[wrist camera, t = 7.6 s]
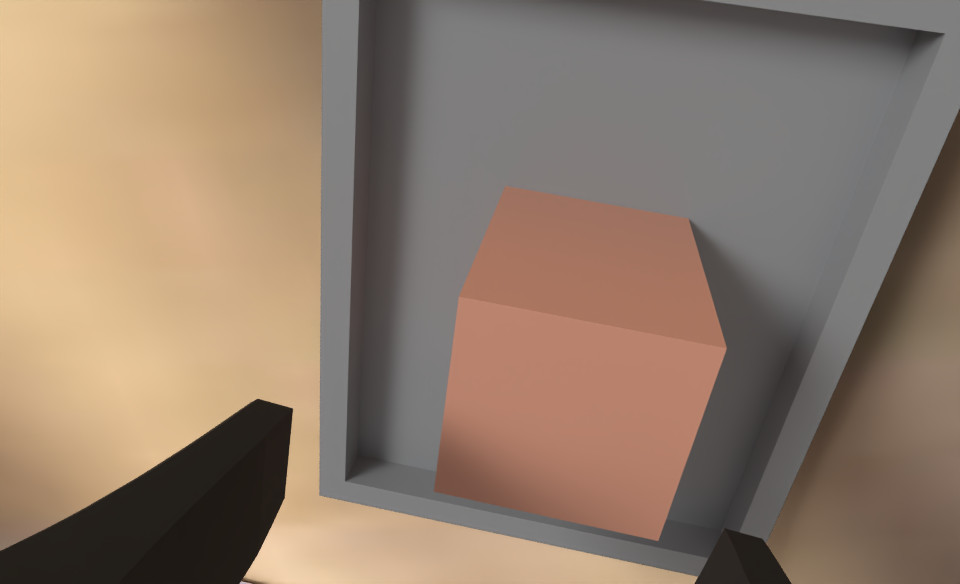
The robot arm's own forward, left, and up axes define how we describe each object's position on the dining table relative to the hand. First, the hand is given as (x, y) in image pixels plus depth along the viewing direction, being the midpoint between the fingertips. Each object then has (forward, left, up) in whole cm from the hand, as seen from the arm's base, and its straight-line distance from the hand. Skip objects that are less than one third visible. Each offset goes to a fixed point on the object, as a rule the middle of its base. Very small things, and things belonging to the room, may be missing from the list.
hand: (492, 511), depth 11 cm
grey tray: (0, -1, -8) cm, 8 cm away
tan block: (+1, -1, -8) cm, 8 cm away
